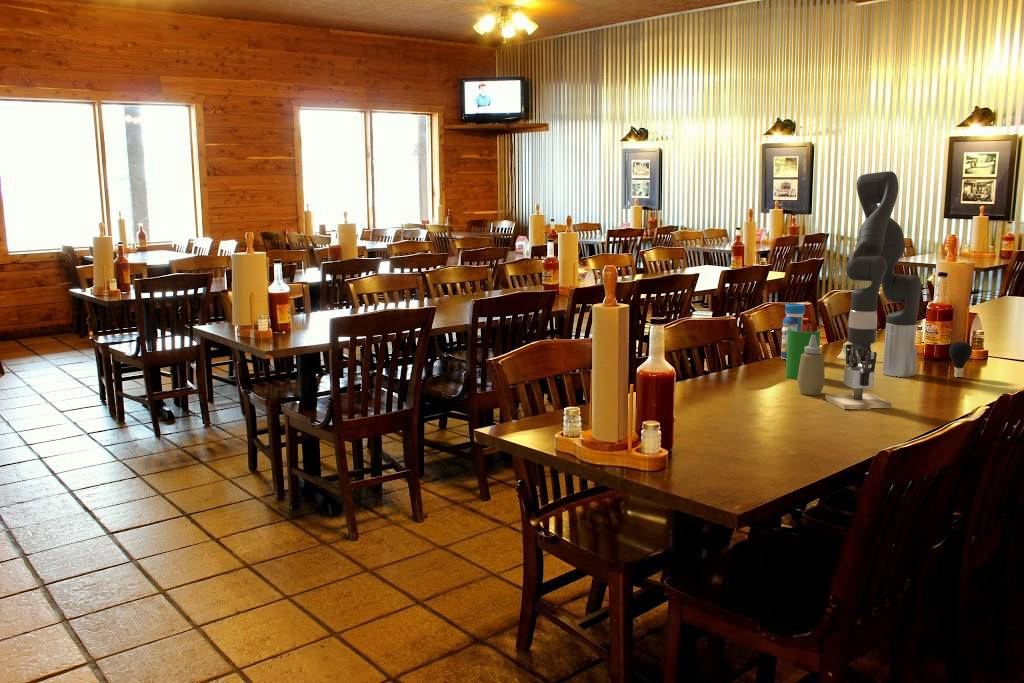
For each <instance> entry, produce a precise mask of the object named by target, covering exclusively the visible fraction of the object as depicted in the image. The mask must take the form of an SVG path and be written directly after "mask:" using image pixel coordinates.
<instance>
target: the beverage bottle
mask: <svg viewBox="0 0 1024 683" xmlns="http://www.w3.org/2000/svg"><path fill="white" fill-rule="evenodd" d="M784 308H785V309H784V312H785V317H783V319H782V322H781V323H782V328H781V333H782V334H781V352H780V353H781V354H780V358H781V359H782V358H783V359H786V357H787V336H788V329H791V330H792V331H798V332H801V327H802V318H805V317H804V315H805V313H806V312H805V311H806V305H805V304H803V303H793V302H792V303H786V304H785V307H784ZM783 359H782V360H783Z"/></svg>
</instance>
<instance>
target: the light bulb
mask: <svg viewBox="0 0 1024 683" xmlns="http://www.w3.org/2000/svg"><path fill="white" fill-rule="evenodd" d="M948 353H949V357H950V359H951V361H952V363H953V365H954V373H953V374H954V375H953V376H954V377H955V378H957V377H962V378H963V377H964V367H965V365H966V364H967V362H968V361H969V360H970V358H971V356H972V354H973V349H972V345H970V344H969V343H968V342H966V341H960V340H958V341H955V342H952V344H951V345H950V346H949V349H948Z"/></svg>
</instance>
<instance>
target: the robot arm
mask: <svg viewBox="0 0 1024 683" xmlns="http://www.w3.org/2000/svg"><path fill="white" fill-rule="evenodd" d="M856 181H857V182H856V191H857V196H858V199H859V203H860V205H861V207H862V211H863V213H864V216H865V218H866V219H865V220H864V221H863V223H862V224H861V226H860V229H859V231H858V237H857V243H856V246H855V249H854V250H853V252H852V254H851V255H850V257H849V258H848V261H847V264H846V266H845V273H846V276H847V277H848V279H850V280H851V281H862V282H871V284H870V285H869V286H867V287H861V288H857V289H854V290H852V292H851V297H850V298H851V299H850V310H849V316H848V320H849V325H848V324H847V341H849V342H851V343H852V344H846V360H845V364H846V365H848V367H860V368H861V380H860V385H861V386H868V385H869V374H870V373H871V372H874V371H876V370H875V369H876V363H877V362H876V361H877V356H878V355H877V354H878V353H877V352H876V351H872V347H871V345H872V344H875V343H876V342H877V328H878V299H879V292H880V288H882V292H883V294H882V295H883V297H884V298H885V300H886V301H888V302H891V303H900V304H904V308H903V309H900V310H898V311H894V312H889V313H888V314H887V315H886V318H885V319H886V321H885V333H884V334H885V335H884V348H883V362H882V363H883V365H882V375H885V376H890V377H896V376H897V378H907V377H913V376H916V374H917V359H918V347H917V346H916V339H917V338H916V335H917V326H918V325H917V323H918V322H917V321H918V315H919V307H920V306H919V305H920V300H921V294H922V281H921V278H920V277H919V276H918V275H912V274H898V273H896V272H895V267H896V265H897V263H898V262H899V261H900V259H901V258H902V256H903V254H904V253H905V250H906V241H905V237H904V231H903V229H902V227H901V225H900V224H899V223H898V222H897V221H896V220H894V219H893V218H892V217H891V216H892V213H893V210H894V208H895V205H896V202H897V198H898V194H899V180H898V176H897V175H896V173H895V172H894V171H889V170H888V171H880V172H872V173H871V172H870V173H865V174H861V175H860V176H859V177H858V178H857V179H856ZM878 204H879V205H878ZM849 356H850V357H849ZM864 367H865V368H864Z"/></svg>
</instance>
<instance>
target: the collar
mask: <svg viewBox="0 0 1024 683" xmlns="http://www.w3.org/2000/svg"><path fill="white" fill-rule="evenodd" d="M864 368H865V366H864ZM843 373H844V374H843V385H845V386H848V387H850V388H851V389H853V390H854V389H855V388H863V389H874V387H875V386H874V384H875V373H876V370H874V372H871V373H870V374H869V385H868V386H861V385H860V380H861V368H860V366H858V367H849V366H845V367H844V372H843Z"/></svg>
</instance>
